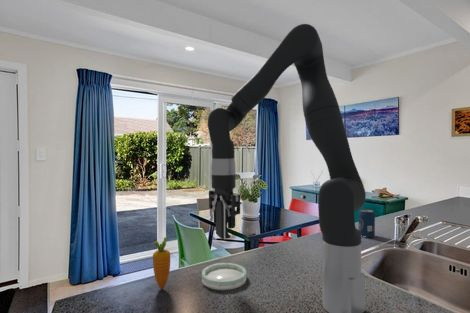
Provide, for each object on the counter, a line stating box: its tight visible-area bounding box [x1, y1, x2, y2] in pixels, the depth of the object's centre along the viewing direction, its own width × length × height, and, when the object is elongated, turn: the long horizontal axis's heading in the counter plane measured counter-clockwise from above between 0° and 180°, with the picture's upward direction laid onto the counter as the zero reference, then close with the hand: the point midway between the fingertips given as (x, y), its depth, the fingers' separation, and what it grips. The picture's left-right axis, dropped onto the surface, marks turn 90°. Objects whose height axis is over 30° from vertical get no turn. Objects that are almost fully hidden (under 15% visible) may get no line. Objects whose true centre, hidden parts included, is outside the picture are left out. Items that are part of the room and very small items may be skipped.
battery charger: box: [215, 200, 231, 240], centre depth 89 cm, size 7×4×11 cm, turn 21°
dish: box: [201, 262, 248, 291], centre depth 89 cm, size 14×14×2 cm
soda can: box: [358, 208, 376, 238], centre depth 133 cm, size 7×7×12 cm
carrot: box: [152, 236, 171, 290], centre depth 83 cm, size 5×5×15 cm
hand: (224, 225), depth 89 cm, fingers closed on battery charger, 7 cm apart
